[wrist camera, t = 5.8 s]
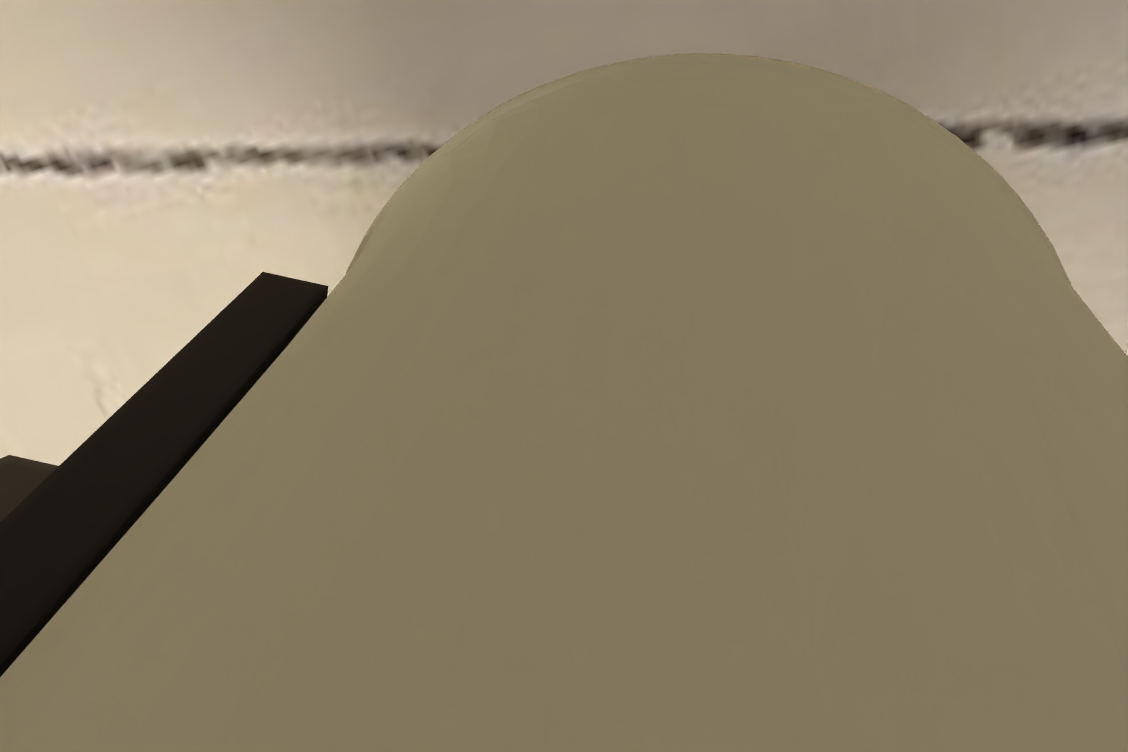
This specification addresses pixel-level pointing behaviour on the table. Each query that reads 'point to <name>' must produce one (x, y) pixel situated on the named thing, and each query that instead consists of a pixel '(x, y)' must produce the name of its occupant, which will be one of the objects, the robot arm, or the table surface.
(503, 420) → the can
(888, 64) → the table surface
